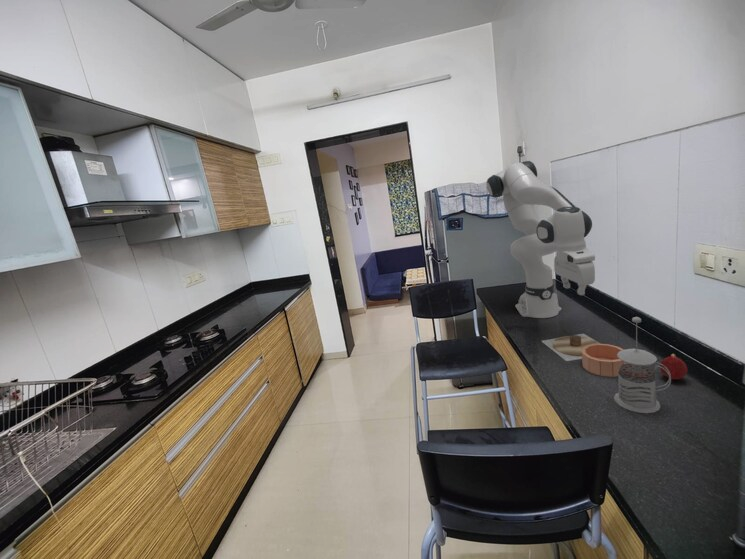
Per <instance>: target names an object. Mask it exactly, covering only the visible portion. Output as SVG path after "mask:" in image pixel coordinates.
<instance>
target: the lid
mask: <svg viewBox="0 0 745 559" xmlns="http://www.w3.org/2000/svg"><path fill="white" fill-rule="evenodd" d="M577 335H578V334H572V335H564V336H560V337H556V338H557V339H555V338H554V339H555V340H554V341H553V348H554V349H555V350H556V351H558V352H560V353H563V354H566V355H571V356H582V348H583V347H585V346H586V345H591V344H599V343H600V342H599V341H597V340H595V339H594V340H592V339H593V338H592V339H590V338H591V337H590V338H586V337H581V336H577ZM596 341H597V342H596Z"/></svg>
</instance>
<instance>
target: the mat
mask: <svg viewBox="0 0 745 559" xmlns="http://www.w3.org/2000/svg"><path fill="white" fill-rule="evenodd" d="M576 335H577V336H581V337H586V338H590V339H592V340H595V339H593V338H591V337H590V336H588V335H587V334H585V333H578V334H576ZM557 338H558V337H556V338H551V339H545V340H541V342H542V343H543V344H544V345H546V346H547V347H548V348H549V349H551V351H553V352H554V353H556V355H558V356H559V357H560V358H561V359H563V360H564V361H566V362H571V361H576V360H582V356H571V355H566V354H563V353H560V352H558V351H556V350H555V349H554V348H553V341H554V340H555V339H557ZM595 341H596V342H598V341H597V340H595ZM598 343H599V344H601V342H598Z"/></svg>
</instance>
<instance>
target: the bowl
mask: <svg viewBox="0 0 745 559" xmlns="http://www.w3.org/2000/svg"><path fill="white" fill-rule="evenodd" d="M622 350H625V349H624V348H622V347H620V346H616V345H613V344H608V343H600V344H591V345H586V346H585V347H583V348H582V359H581V361H582V362H581V363H582V368H583V369H584V370H586V371H587V372H589V373H591V374H594V375H597V376H601V377H609V378H610V377H611V378H615V377H618V372H619V370H620V366H621V365H623V364H628V363H626V362H623V361H622V360H620V359H619V358H618V355H617V354H618V352H619V351H622Z"/></svg>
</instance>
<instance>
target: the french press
mask: <svg viewBox="0 0 745 559" xmlns="http://www.w3.org/2000/svg"><path fill="white" fill-rule="evenodd" d="M631 322H633V323H635V330H636V331H635V348H627V349H624V350H622V351H619V352H618V354H617V355H618V358H619V359H620V360H622V361H623V362H626V363H628V364H623V365H621V366H620V370H619V372H618V376H617V378H618V392H616V393H615V394H614V396H613V398H614V402H615V403H617V404H618V405H619V406H620V407H621V408H624V409H626V410H629V411H631V412H635V413H641V414H651V413H652V414H653V413H656V412H657V411H660V409H661V404H660V402H659V401H658V400H657V392H658V391H659V392H660V391H664V390H666V389H668V388H669V387H671V386H670V385H671V383H672V379H671V374H670V372H669V370H668V369H667V367H665V366H664V365H662V364H660V363H661V362H657V360H658V358H657V357H656V355H654V354H653V353H651V352H648V351H647V350H643V349H639V348H638V324H639V323H641V322H642V318H640V317H638V316H635V317H632V319H631ZM657 364H658V365H657ZM652 365H654V369H655V370H657V368H659V369H660V368H662V367H660V365H662V366H664V367H665V368H666V369H667V371H666V370H665V369H664V368H662V369H664V370H665V371H666V372H667V373H668V375H669V378H668V380H667V382H666V383H665V384H663V385H656V376H655V371H654V370H653V369H652V368H650V367H649V366H652ZM622 376H624V377H622ZM630 378H631V379H630ZM665 386H666V387H665ZM661 387H665V388H661ZM658 388H660V389H658Z"/></svg>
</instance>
